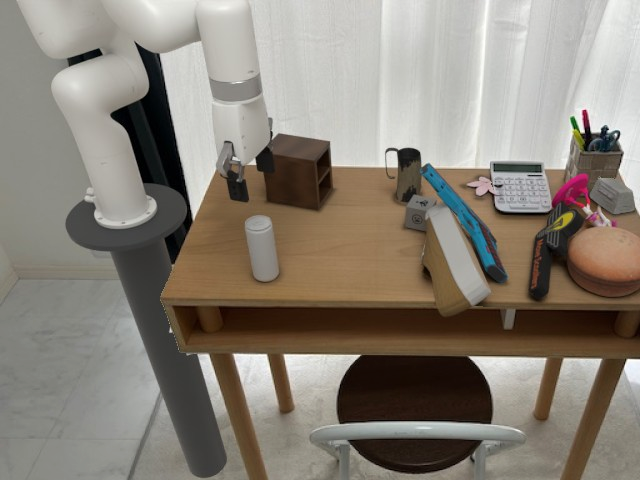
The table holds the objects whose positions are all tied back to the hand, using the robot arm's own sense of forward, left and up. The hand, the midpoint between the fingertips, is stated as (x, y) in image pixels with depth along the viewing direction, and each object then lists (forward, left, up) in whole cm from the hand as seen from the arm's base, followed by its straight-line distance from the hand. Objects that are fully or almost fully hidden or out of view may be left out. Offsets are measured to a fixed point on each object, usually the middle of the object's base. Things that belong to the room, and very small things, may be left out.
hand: (253, 185), depth 104 cm
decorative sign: (+48, +21, -19) cm, 55 cm away
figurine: (+52, +41, -15) cm, 67 cm away
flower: (+34, +44, -18) cm, 58 cm away
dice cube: (+23, +25, -20) cm, 39 cm away
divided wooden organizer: (-5, +28, -20) cm, 35 cm away
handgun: (+36, +8, -11) cm, 39 cm away
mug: (+17, +34, -20) cm, 43 cm away
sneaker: (+35, +12, -13) cm, 40 cm away
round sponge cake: (+61, +20, -10) cm, 65 cm away
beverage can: (0, 0, -20) cm, 20 cm away
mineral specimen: (+63, +43, -16) cm, 78 cm away
